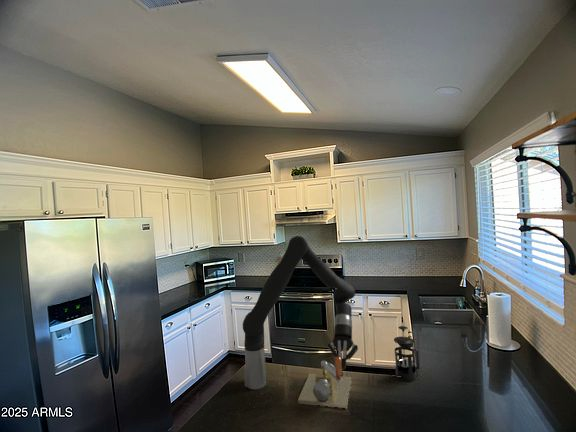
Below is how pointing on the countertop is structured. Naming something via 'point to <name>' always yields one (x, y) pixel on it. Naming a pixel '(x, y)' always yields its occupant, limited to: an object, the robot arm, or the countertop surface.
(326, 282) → the robot arm
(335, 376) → the valve lever
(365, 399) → the countertop surface
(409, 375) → the french press
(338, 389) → the valve
